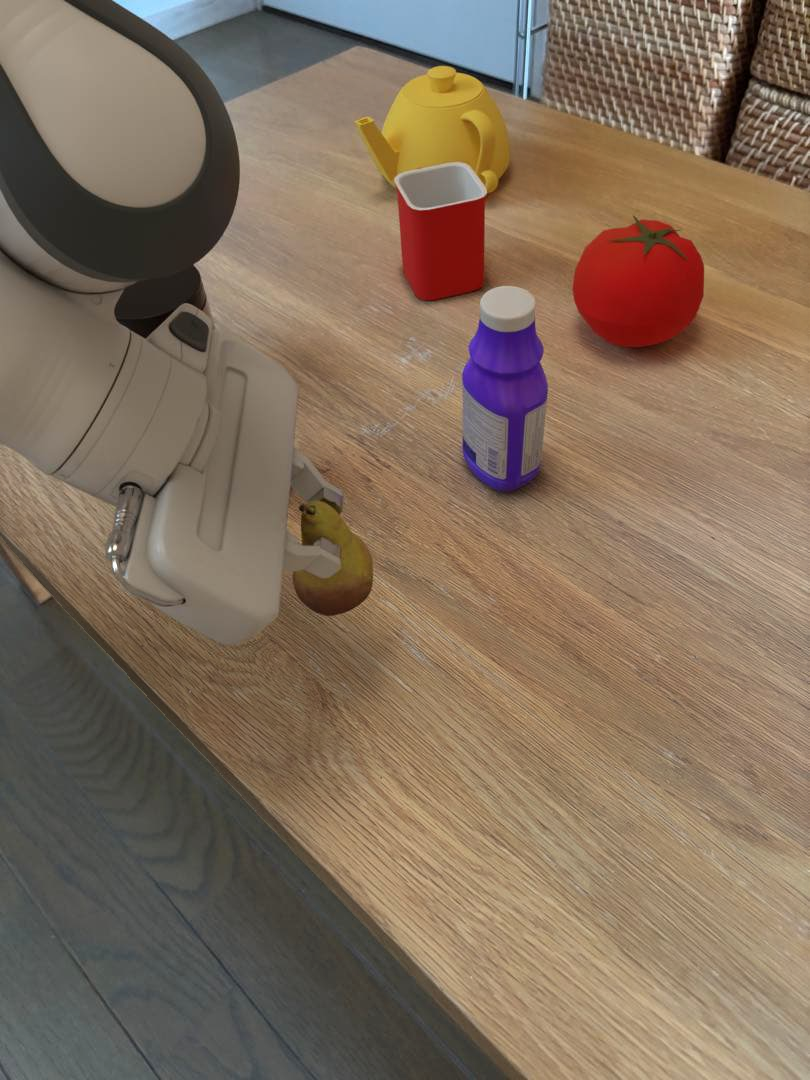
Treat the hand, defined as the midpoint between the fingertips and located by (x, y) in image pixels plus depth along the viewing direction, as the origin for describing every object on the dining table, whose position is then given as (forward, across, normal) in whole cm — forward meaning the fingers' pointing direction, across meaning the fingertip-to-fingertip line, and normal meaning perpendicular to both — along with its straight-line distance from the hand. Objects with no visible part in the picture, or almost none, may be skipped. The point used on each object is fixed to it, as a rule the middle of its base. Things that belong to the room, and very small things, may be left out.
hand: (336, 535), depth 54 cm
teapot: (+16, +69, +3) cm, 71 cm away
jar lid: (-11, +33, +15) cm, 38 cm away
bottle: (+18, +18, +1) cm, 26 cm away
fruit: (+4, 0, +5) cm, 7 cm away
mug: (+15, +50, +4) cm, 53 cm away
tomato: (+29, +38, -10) cm, 48 cm away
